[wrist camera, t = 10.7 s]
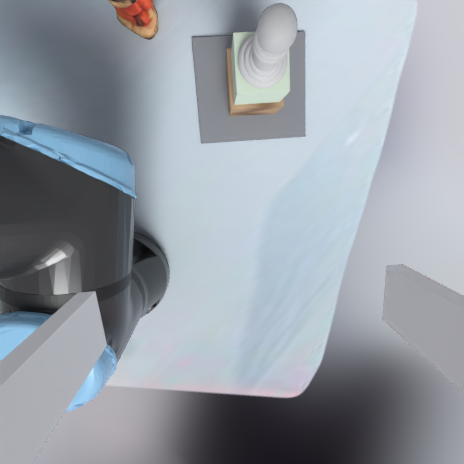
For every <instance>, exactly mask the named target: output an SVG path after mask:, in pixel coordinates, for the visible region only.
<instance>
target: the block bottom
mask: <svg viewBox="0 0 464 464" xmlns="http://www.w3.org/2000/svg"><path fill="white" fill-rule="evenodd" d="M226 76H227V91H228V106H229V117H231V116H247V115H262V114H276V113H277V112H278V111H279V110H280V109H281V108H282V107H283V106H284V98H283V99H282V100H281V101H280V102H272V103H257V104H241V105H234V93H233V77H232V61H231V48H227V53H226Z"/></svg>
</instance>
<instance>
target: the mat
mask: <svg viewBox="0 0 464 464" xmlns="http://www.w3.org/2000/svg"><path fill="white" fill-rule="evenodd" d="M232 39H233V35H231V36H213V37H194V38H192V47H193V58H194V69H195V79H196V90H197V101H198V112H199V123H200V133H201V143H216V142H231V141H246V140H260V139H275V138H290V137H304V136H305V32H297V34H296V38H295V40H294V42H293V44H292V45H291V46H290V48H289V62H290V92H289V93H288V94H287V95H286V96H285V97H284V106H283V107H282V108H281V109H280V110H279V111H278V112H277V113H276V114H262V115H247V116H231V117H229V106H228V91H227V76H226V53H227V48H232Z"/></svg>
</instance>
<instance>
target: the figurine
mask: <svg viewBox="0 0 464 464" xmlns="http://www.w3.org/2000/svg"><path fill="white" fill-rule="evenodd" d="M109 2H110V3H111V4H112V6H114V7H115V9H116V12H117V18H118V20H119V21H120V22H121V23H122V24H123V25H124V26H126V27H127V28H128V29H130V30H131V31H133V32H134V33H136V34H138V35H140V36H141V37H143V38H146V39H152V38H153V37H154V36H155V34H156V33H157V31H158V16H157V11H156V9H155V8H154V6H153V1H152V0H109Z"/></svg>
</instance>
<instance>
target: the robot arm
mask: <svg viewBox="0 0 464 464" xmlns="http://www.w3.org/2000/svg"><path fill="white" fill-rule="evenodd" d="M135 199H137V194H136V193H135V166H134V162H133V160H132V158H131V157H130V156H129V155H128V154H127V153H126V152H125V151H124V150H122V149H120V148H118V147H116V146H113V145H111V144H108V143H105V142H102V141H99V140H96V139H93V138H90V137H87V136H83V135H80V134H77V133H73V132H70V131H66V130H63V129H59V128H55V127H51V126H47V125H43V124H34V123H32V122H29V121H24V120H20V119H17V118H14V117H9V116H4V115H0V464H33V462H34V461H35V459H36V458H37V456H38V454H39V453H40V451H41V450H42V448H43V446H44V445H45V443H46V442H47V440H48V438H49V437H50V435H51V433H52V432H53V431H54V429H55V427H56V426H57V424H58V423H59V421H60V419H61V418H62V416H63V415H64V413H65V412H69V411H72V410H75V409H77V408H79V407H81V406H83V405H84V404H85V403H87V402H89V401H91V400H92V399H93V398H94V397H96V395H97V394H98V393H99V392H100V391H101V389H102V388H103V386H104V385H105V383H106V382H107V380H108V379H109V378H110V377H111V375H112V374H113V373H114V371H115V370H116V365H117V363H118V361H119V359H120V357H121V355H122V353H123V351H124V349H125V347H126V345H127V343H128V341H129V339H130V337H131V335H132V333H133V331H134V329H135V327H136V325H137V323H138V321H139V319H140V318H141V317H143V316H144V315H146V314H147V313H149V312H150V311H152V310H153V309H154V308H155V307H156V306H157V305H158V304H159V302H160V301H161V300H162V298H163V296H164V294H165V292H166V289H167V287H168V283H169V266H168V263H167V260H166V258H165V256H164V254H163V252H162V251H161V250H160V248H159V247H158V246H157V245H156V244H155V243H154V242H153V241H151V240H150V239H149V238H147V237H145V236H143V235H141V234H139V233H136V232H134V214H135ZM382 319H383V320H384V321H385V322H386V323H387V324H388V325H389V326H390V327H391V328H392V329H394V330H395V331H396V332H397V333H398V334H399V335H400V336H401V337H402V338H403V339H404V340H406V341H407V342H408V343H409V344H410V345H411V346H412V347H413V348H414V349H415V350H416V351H417V352H419V353H420V354H421V355H422V356H423V357H424V358H425V359H426V360H427V361H428V362H430V363H431V364H432V365H433V366H434V367H435V368H436V369H437V370H438V371H439V372H440V373H441V374H442V375H444V376H445V377H446V378H447V379H448V380H449V381H450V382H451V383H452V384H454V386H456V387H457V388H458V389H459V390H460V391H461V392H462V393H463V394H464V296H463V295H461V294H459V293H457V292H455V291H453V290H451V289H449V288H447V287H446V286H444V285H442V284H440V283H438V282H436V281H434V280H432V279H430V278H428V277H426V276H424V275H422V274H421V273H419V272H417V271H415V270H413V269H411V268H409V267H407V266H405V265H403V264H399V265H388V266H386V277H385V290H384V304H383V317H382Z"/></svg>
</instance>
